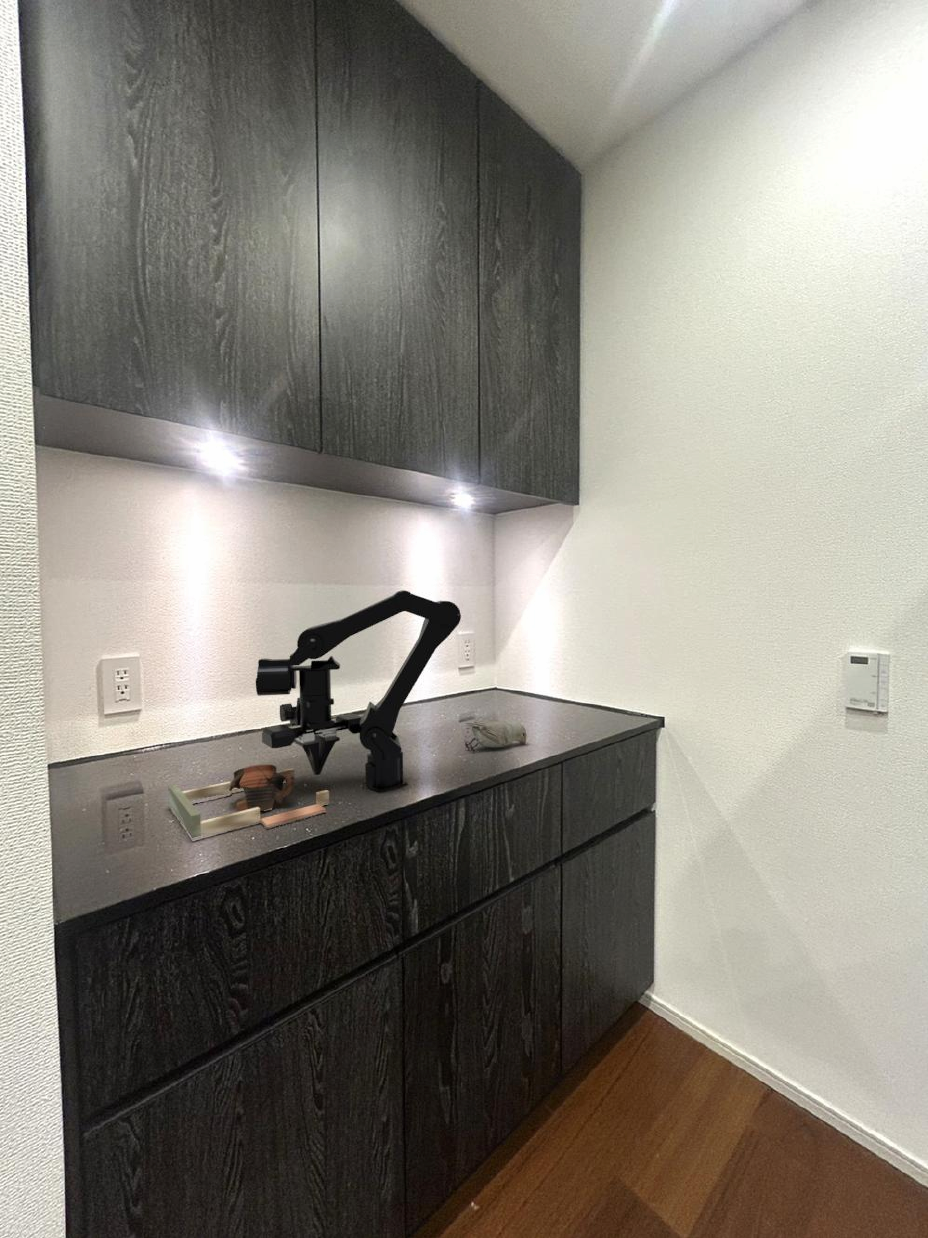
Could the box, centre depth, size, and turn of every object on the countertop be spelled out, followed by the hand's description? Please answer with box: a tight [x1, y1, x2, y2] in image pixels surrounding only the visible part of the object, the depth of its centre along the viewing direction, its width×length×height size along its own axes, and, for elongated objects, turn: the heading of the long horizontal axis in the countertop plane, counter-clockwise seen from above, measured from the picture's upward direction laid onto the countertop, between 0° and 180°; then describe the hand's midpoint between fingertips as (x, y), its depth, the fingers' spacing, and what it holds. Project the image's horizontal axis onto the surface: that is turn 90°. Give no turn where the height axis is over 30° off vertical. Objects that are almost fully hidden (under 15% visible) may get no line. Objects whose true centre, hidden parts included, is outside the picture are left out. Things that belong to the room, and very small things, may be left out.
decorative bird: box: [463, 721, 527, 753], centre depth 131 cm, size 5×16×7 cm, turn 115°
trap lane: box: [168, 767, 330, 838], centre depth 96 cm, size 22×23×4 cm
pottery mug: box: [229, 764, 296, 812], centre depth 97 cm, size 12×10×8 cm
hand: (317, 774), depth 104 cm, fingers closed
